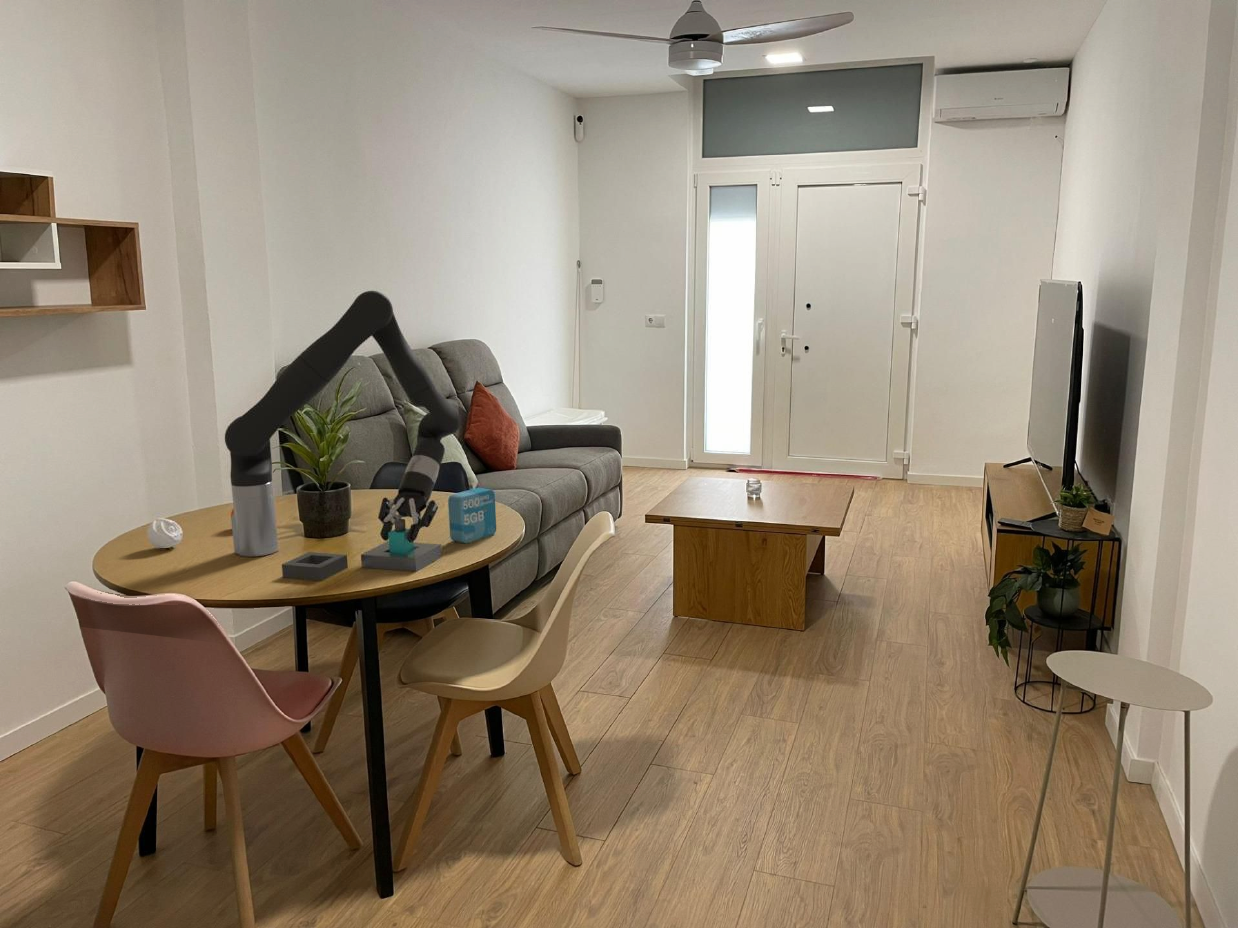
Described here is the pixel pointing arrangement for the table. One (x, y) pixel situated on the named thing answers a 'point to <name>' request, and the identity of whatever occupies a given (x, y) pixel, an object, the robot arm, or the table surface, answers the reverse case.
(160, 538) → the motion sensor
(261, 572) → the table surface
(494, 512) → the data package
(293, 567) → the holster
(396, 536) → the plug
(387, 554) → the port block
